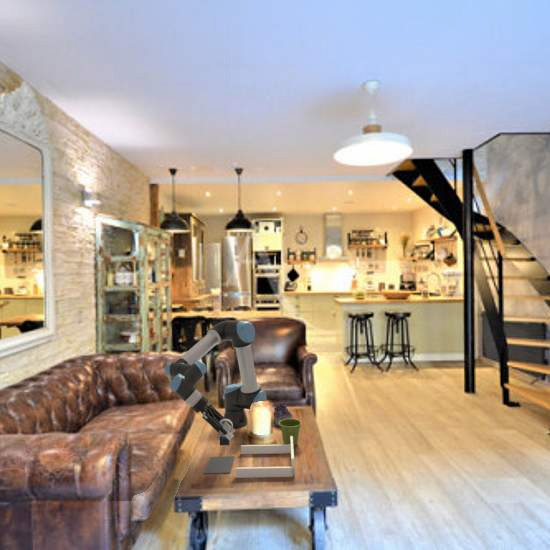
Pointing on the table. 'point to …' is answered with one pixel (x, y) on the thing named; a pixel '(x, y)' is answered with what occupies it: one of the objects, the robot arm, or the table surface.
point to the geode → (281, 413)
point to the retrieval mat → (219, 465)
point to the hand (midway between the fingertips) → (232, 435)
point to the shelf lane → (267, 471)
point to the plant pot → (290, 430)
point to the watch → (222, 438)
